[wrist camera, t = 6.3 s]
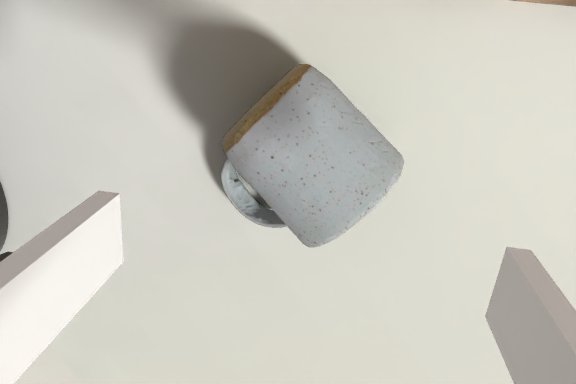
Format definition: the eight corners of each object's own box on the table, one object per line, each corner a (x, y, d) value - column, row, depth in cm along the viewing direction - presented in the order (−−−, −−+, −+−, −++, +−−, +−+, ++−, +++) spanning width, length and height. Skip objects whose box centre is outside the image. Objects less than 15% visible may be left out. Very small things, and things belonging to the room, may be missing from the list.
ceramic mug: (310, 46, 28) (294, 62, 21) (401, 142, 29) (415, 187, 22) (200, 160, 32) (155, 207, 25) (285, 240, 33) (265, 305, 26)
